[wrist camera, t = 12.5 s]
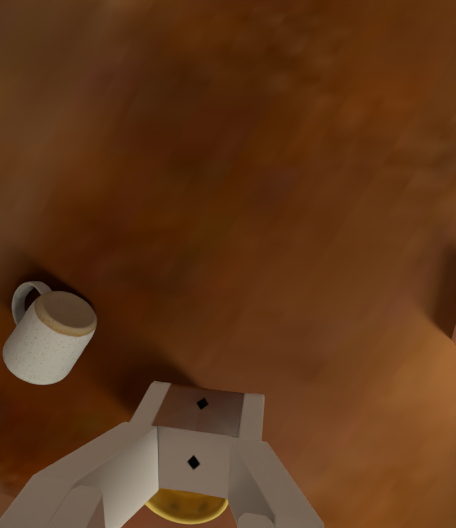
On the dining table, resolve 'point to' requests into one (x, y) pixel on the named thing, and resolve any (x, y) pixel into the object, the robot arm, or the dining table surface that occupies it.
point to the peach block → (454, 335)
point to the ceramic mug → (47, 334)
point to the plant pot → (186, 506)
